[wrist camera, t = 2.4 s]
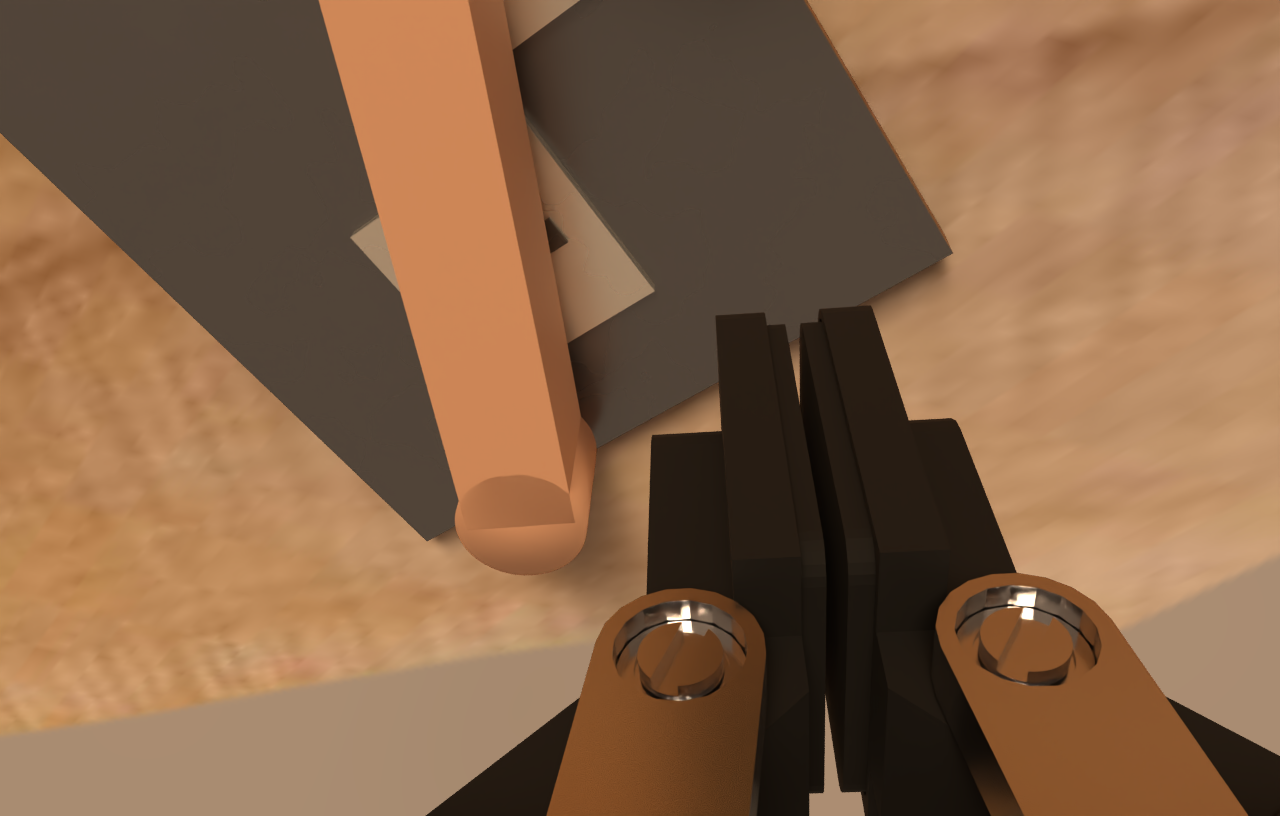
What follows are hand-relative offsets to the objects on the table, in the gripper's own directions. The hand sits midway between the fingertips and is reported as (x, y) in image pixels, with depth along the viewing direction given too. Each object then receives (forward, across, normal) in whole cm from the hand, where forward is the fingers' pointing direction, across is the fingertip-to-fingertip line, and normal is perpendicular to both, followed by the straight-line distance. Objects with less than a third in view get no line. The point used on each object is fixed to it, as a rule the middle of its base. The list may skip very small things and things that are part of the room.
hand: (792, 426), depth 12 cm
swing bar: (+12, +6, +1) cm, 13 cm away
